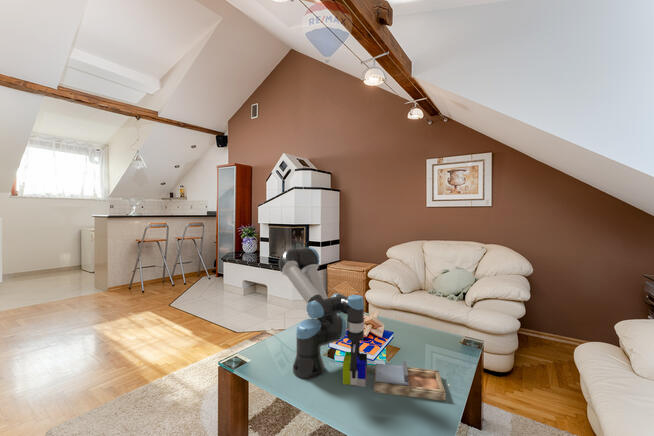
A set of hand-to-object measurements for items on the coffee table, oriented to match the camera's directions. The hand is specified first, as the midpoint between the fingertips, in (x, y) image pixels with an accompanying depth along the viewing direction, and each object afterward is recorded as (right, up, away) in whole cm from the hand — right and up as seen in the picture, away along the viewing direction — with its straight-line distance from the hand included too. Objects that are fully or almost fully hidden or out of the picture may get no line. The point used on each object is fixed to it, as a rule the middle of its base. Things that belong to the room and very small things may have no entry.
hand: (355, 377), depth 139 cm
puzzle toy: (0, -1, 0) cm, 1 cm away
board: (+23, -1, -4) cm, 24 cm away
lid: (+16, +2, -2) cm, 17 cm away
